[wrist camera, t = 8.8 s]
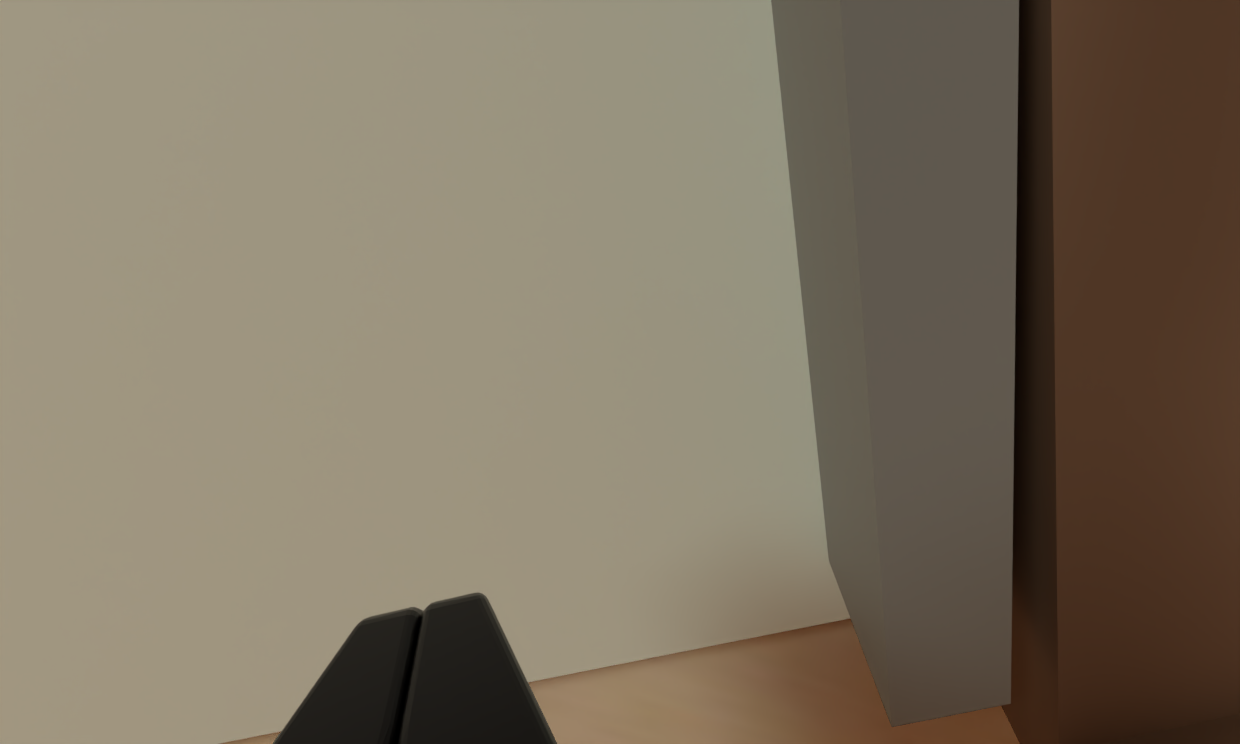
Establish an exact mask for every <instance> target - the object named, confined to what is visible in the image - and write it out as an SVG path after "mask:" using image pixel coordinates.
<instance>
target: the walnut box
mask: <svg viewBox="0 0 1240 744" xmlns="http://www.w3.org/2000/svg"><path fill="white" fill-rule="evenodd" d="M1001 706H1002V708H1003V710H1004V712H1005V714H1006V716H1007V718H1008V720H1009V722H1010V724H1011V726H1012V728H1013V730H1014V732H1015V734H1016V736H1017V738H1018V740H1019V742H1020V744H1240V0H1019V47H1018V133H1017V218H1016V304H1015V389H1014V475H1013V560H1012V646H1011V704H1006V705H1001Z"/></svg>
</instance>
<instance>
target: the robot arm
mask: <svg viewBox="0 0 1240 744" xmlns="http://www.w3.org/2000/svg"><path fill="white" fill-rule="evenodd" d="M273 744H557V742H556V740H555V738H554V736H553V734H552V732H551V730H550V728H549V726H548V723H547V721H546V719H545V717H544V715H543V713H542V711H541V709H540V707H539V705H538V702H537V700H536V698H535V696H534V694H533V692H532V690H531V688H530V686H529V684H528V682H527V679H526V677H525V675H524V673H523V671H522V669H521V667H520V665H519V663H518V661H517V658H516V656H515V654H514V652H513V650H512V648H511V646H510V644H509V642H508V640H507V637H506V635H505V633H504V631H503V629H502V627H501V625H500V623H499V621H498V619H497V617H496V614H495V612H494V610H493V608H492V606H491V604H490V602H489V600H488V598H487V597H486V596H485V595H484V594H482V593H479V592H477V593H471V594H466V595H462V596H458V597H453V598H449V599H444V600H440V601H436V602H433V603H430V604H429V605H428V606H427V607H426V608H425V609H424V611H423V610H421V609H419V608H416V607H409V608H405V609H401V610H396V611H392V612H387V613H383V614H379V615H374V616H370V617H368V618H365V619H363V620H362V621H361V622H359V623H358V624H357V625H356V626H355V628H354V629H353V630H352V632H351V633H350V634H349V636H348V637H347V639H346V640H345V642H344V643H343V644H342V646H341V647H340V649H339V650H338V652H337V653H336V654H335V656H334V657H333V659H332V660H331V661H330V663H329V664H328V666H327V667H326V669H325V670H324V671H323V673H322V674H321V676H320V677H319V679H318V680H317V681H316V683H315V684H314V686H313V687H312V688H311V690H310V691H309V693H308V694H307V696H306V697H305V698H304V700H303V701H302V703H301V704H300V706H299V707H298V708H297V710H296V711H295V713H294V714H293V715H292V717H291V718H290V720H289V721H288V723H287V724H286V725H285V727H284V728H283V730H282V731H281V733H280V734H279V735H278V737H277V738H276V740H275V741H274V742H273Z"/></svg>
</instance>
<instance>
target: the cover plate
mask: <svg viewBox="0 0 1240 744" xmlns="http://www.w3.org/2000/svg"><path fill="white" fill-rule="evenodd" d="M1018 47H1019V0H0V744H220V743H225V742H230V741H235V740H240V739H245V738H250V737H255V736H260V735H265V734H270V733H275V732H280V731H282V730H283V728H284V727H285V725H286V724H287V723H288V721H289V720H290V718H291V717H292V715H293V714H294V713H295V711H296V710H297V708H298V707H299V706H300V704H301V703H302V701H303V700H304V698H305V697H306V696H307V694H308V693H309V691H310V690H311V688H312V687H313V686H314V684H315V683H316V681H317V680H318V679H319V677H320V676H321V674H322V673H323V671H324V670H325V669H326V667H327V666H328V664H329V663H330V661H331V660H332V659H333V657H334V656H335V654H336V653H337V652H338V650H339V649H340V647H341V646H342V644H343V643H344V642H345V640H346V639H347V637H348V636H349V634H350V633H351V632H352V630H353V629H354V628H355V626H356V625H357V624H358V623H359V622H361V621H362V620H363V619H365V618H368V617H370V616H374V615H379V614H383V613H387V612H392V611H396V610H401V609H405V608H409V607H416V608H419V609H421V610H423V611H424V609H425V608H426V607H427V606H428V605H429V604H430V603H433V602H436V601H440V600H444V599H449V598H453V597H458V596H462V595H466V594H471V593H477V592H479V593H482V594H484V595H485V596H486V597H487V598H488V600H489V602H490V604H491V606H492V608H493V610H494V612H495V614H496V617H497V619H498V621H499V623H500V625H501V627H502V629H503V631H504V633H505V635H506V637H507V640H508V642H509V644H510V646H511V648H512V650H513V652H514V654H515V656H516V658H517V661H518V663H519V665H520V667H521V669H522V671H523V673H524V675H525V677H526V679H527V682H532V681H537V680H542V679H547V678H552V677H558V676H563V675H568V674H573V673H578V672H583V671H588V670H593V669H598V668H603V667H608V666H613V665H618V664H623V663H628V662H633V661H638V660H643V659H648V658H653V657H658V656H663V655H668V654H673V653H678V652H684V651H689V650H694V649H699V648H704V647H709V646H714V645H719V644H724V643H729V642H734V641H739V640H744V639H749V638H754V637H759V636H764V635H769V634H774V633H779V632H784V631H789V630H794V629H799V628H805V627H810V626H815V625H820V624H825V623H830V622H835V621H840V620H845V619H850V618H851V621H852V623H853V626H854V629H855V631H856V634H857V636H858V639H859V642H860V644H861V647H862V650H863V652H864V655H865V658H866V660H867V663H868V665H869V668H870V671H871V673H872V676H873V679H874V681H875V684H876V687H877V689H878V692H879V694H880V697H881V700H882V702H883V705H884V708H885V710H886V713H887V716H888V718H889V721H890V723H891V726H892V727H895V726H900V725H905V724H910V723H915V722H920V721H925V720H930V719H935V718H941V717H946V716H951V715H956V714H961V713H966V712H971V711H976V710H981V709H986V708H991V707H996V706H1001V705H1006V704H1011V646H1012V560H1013V475H1014V389H1015V304H1016V218H1017V133H1018Z"/></svg>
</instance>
